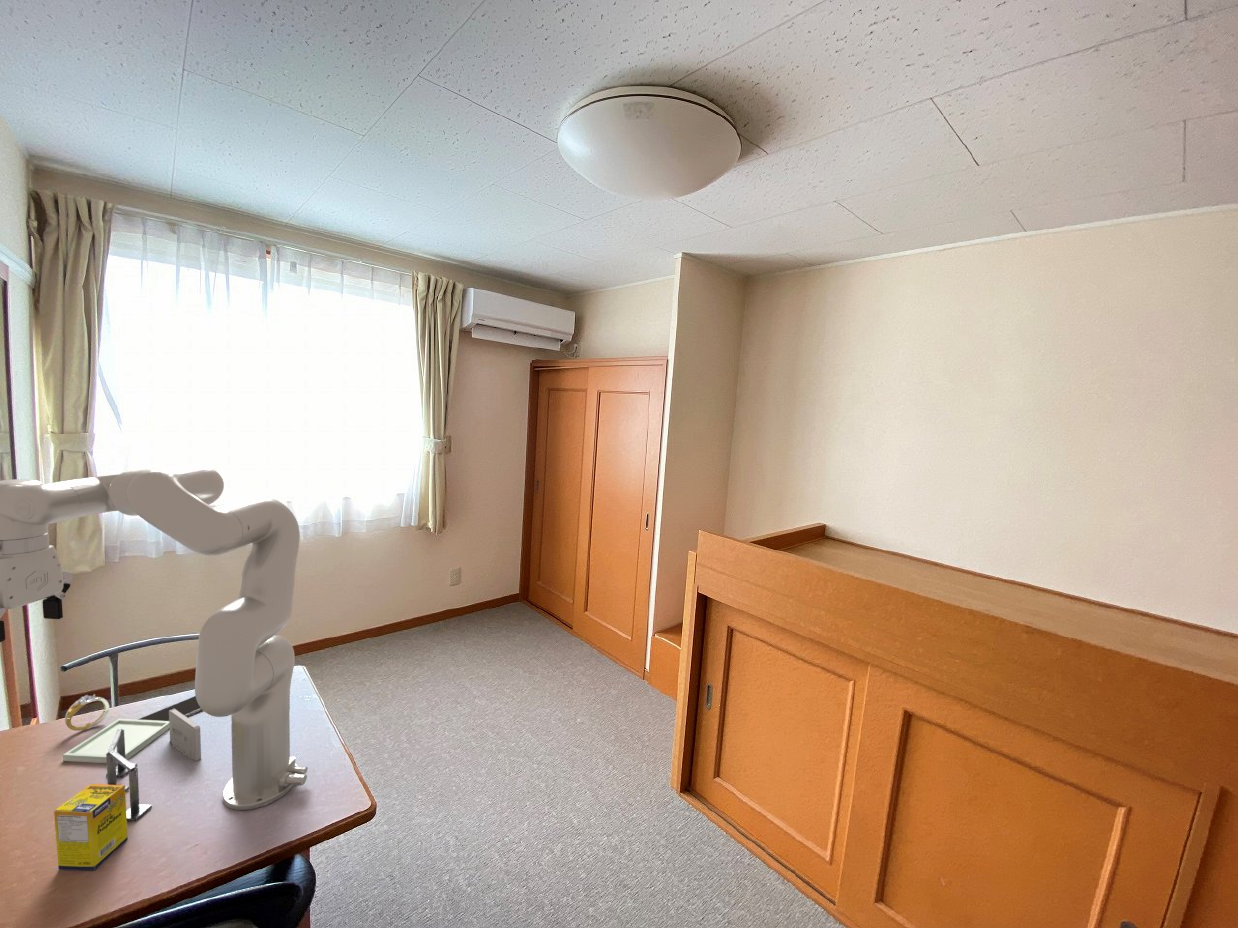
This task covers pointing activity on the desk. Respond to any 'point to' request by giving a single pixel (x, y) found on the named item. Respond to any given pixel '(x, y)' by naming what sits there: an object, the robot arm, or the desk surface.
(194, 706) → the smartphone
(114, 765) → the metal handrail
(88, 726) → the ring
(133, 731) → the tray
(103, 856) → the supplement box
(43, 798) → the desk surface
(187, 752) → the cassette
